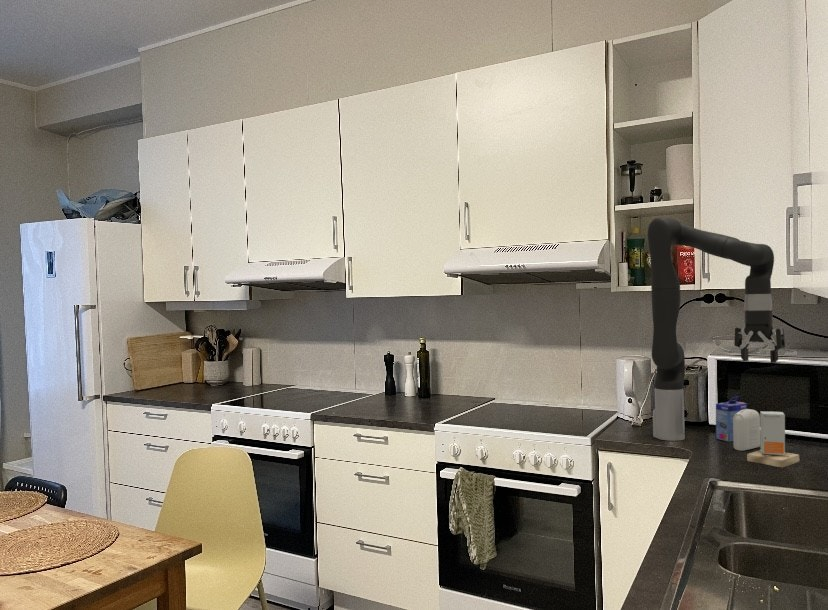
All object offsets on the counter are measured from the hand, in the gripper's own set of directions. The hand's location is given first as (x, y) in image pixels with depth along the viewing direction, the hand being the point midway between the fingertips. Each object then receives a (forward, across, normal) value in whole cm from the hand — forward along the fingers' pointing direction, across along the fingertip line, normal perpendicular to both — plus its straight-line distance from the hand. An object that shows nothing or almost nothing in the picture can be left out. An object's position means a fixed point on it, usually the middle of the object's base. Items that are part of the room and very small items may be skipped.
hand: (759, 361), depth 201 cm
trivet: (+28, +7, -7) cm, 30 cm away
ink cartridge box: (+28, -16, +12) cm, 35 cm away
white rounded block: (+28, -6, +3) cm, 29 cm away
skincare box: (+26, +7, -7) cm, 28 cm away
